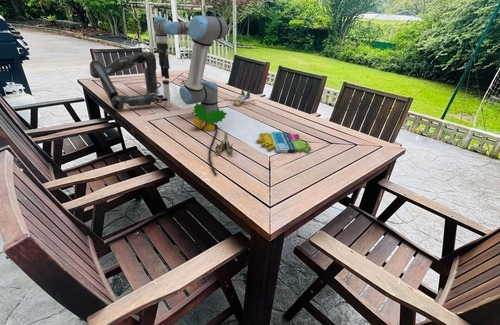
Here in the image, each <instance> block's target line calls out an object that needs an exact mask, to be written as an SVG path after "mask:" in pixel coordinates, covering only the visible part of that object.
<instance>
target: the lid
mask: <svg viewBox="0 0 500 325" xmlns="http://www.w3.org/2000/svg"><path fill="white" fill-rule="evenodd" d="M161 83H162V85H163V84H169V85H170V80H169V79H163V80H162V82H161Z"/></svg>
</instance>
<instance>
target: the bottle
mask: <svg viewBox="0 0 500 325" xmlns="http://www.w3.org/2000/svg"><path fill="white" fill-rule="evenodd" d="M162 86H163V87H162V88H163V96H164V98H167V100H168V101H164V107H171V105H172V104H171V93H170V91H171V90H170V83H169V84H163V83H162Z"/></svg>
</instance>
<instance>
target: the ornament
mask: <svg viewBox="0 0 500 325" xmlns="http://www.w3.org/2000/svg"><path fill="white" fill-rule="evenodd" d="M219 110H220V108H219V109H217V110H216V111H214V110H212V112H211V113H208V112H206V109H204V106H201V103H197V102H196V103H195V105H194V106H193V112H194V113H195V118H192V119H191V122H192V123H193V125H195V127H197V128H198V129H202V130H203V131H206V132H212V131H213V132H214V131H216V126H215V125H214V124H218V123H219V122H223V119H226V115H227V114H228V113H227V112H224V110H223V109H221V110H220V111H219ZM207 113H208V115H207ZM213 123H214V124H213Z"/></svg>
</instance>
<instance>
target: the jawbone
mask: <svg viewBox="0 0 500 325" xmlns="http://www.w3.org/2000/svg"><path fill="white" fill-rule="evenodd" d="M223 135H224V136H223V140H222V139H221V142H220V144H218V142H215V144H216V146H215V148H214V149H215V152H214V154H215V155H217V156H218V155H220V153H221V152H223V151H224V150H226V152H227V153H228V155H229V156H233V155H234V154H233V153H234V148H233V144H234V143H230V140H228V139H229V138H228V137H229V136H228V135H229V133H228V131H226V132H224V134H223Z"/></svg>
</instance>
